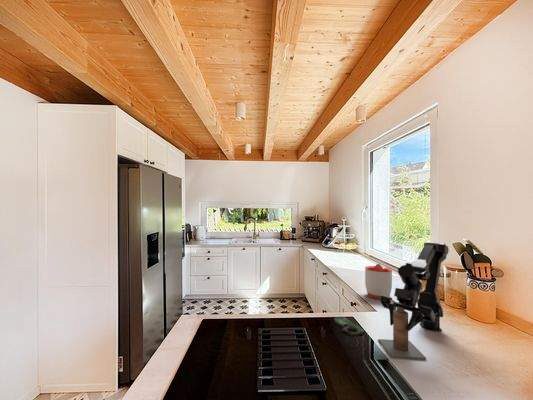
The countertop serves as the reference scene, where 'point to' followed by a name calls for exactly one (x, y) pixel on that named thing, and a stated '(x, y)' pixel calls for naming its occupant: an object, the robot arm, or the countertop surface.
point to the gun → (348, 326)
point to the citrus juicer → (378, 281)
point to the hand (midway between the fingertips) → (399, 327)
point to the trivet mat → (394, 353)
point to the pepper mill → (400, 329)
